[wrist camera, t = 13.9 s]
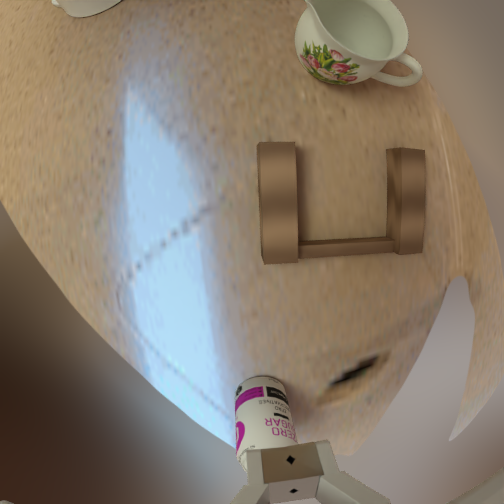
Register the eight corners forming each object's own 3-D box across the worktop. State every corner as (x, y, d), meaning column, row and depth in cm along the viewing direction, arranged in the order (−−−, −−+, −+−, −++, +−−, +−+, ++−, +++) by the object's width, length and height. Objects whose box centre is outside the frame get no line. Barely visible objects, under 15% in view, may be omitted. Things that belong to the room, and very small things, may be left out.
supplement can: (233, 408, 45) (235, 478, 30) (236, 372, 43) (239, 446, 28) (280, 409, 46) (294, 476, 31) (287, 373, 44) (307, 444, 29)
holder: (256, 146, 35) (259, 142, 31) (409, 151, 36) (424, 150, 32) (261, 255, 38) (264, 264, 35) (407, 246, 39) (422, 253, 36)
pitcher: (376, 125, 35) (436, 108, 22) (255, 65, 32) (267, 13, 19) (396, 66, 33) (452, 37, 19) (286, 8, 30) (307, -48, 16)
